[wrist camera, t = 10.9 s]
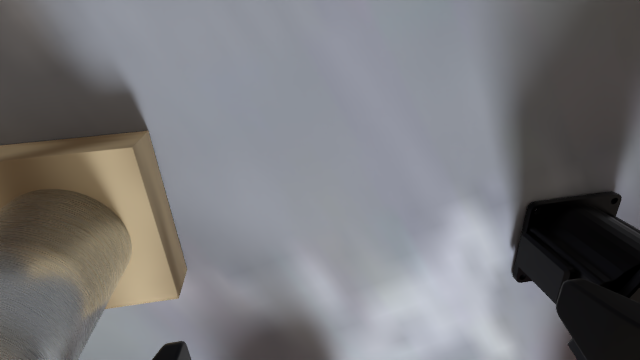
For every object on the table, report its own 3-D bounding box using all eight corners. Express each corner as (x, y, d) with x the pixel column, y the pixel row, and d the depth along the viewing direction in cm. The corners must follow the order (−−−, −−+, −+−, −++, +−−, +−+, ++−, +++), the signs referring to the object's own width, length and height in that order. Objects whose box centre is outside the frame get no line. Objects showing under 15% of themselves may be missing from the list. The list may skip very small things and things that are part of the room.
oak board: (148, 130, 19) (132, 147, 16) (187, 269, 23) (178, 298, 20) (-43, 149, 18) (-87, 169, 15) (32, 290, 22) (5, 323, 19)
